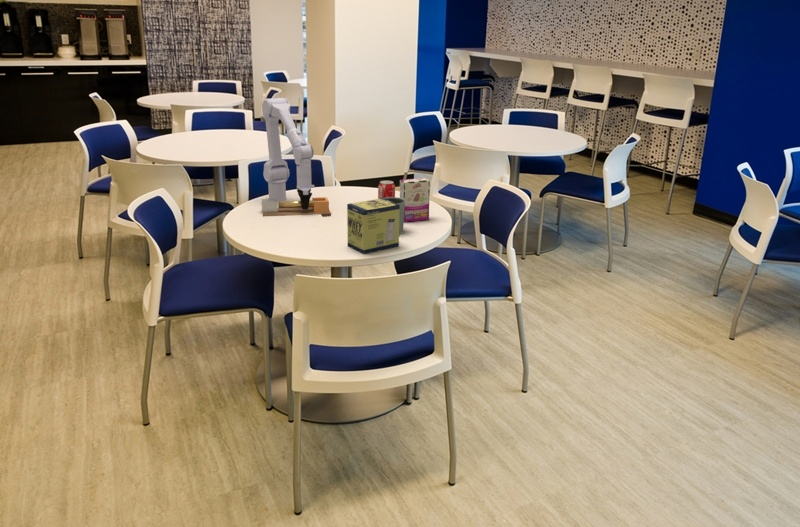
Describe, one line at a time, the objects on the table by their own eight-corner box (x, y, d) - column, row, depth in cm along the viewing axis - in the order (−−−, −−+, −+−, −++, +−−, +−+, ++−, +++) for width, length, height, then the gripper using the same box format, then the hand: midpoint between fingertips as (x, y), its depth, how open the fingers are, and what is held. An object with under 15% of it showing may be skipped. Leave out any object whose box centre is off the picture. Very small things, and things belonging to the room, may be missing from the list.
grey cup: (401, 235, 252) (402, 204, 248) (375, 233, 254) (375, 202, 250) (406, 228, 261) (407, 197, 257) (381, 226, 263) (381, 195, 259)
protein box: (346, 246, 239) (346, 203, 234) (382, 238, 248) (383, 197, 243) (363, 254, 231) (363, 210, 226) (399, 246, 240) (400, 203, 235)
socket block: (312, 208, 281) (312, 197, 280) (327, 207, 282) (326, 197, 281) (314, 212, 275) (313, 201, 274) (328, 212, 276) (328, 201, 275)
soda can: (374, 209, 285) (374, 181, 281) (388, 206, 290) (388, 179, 285) (384, 213, 280) (384, 184, 276) (398, 210, 284) (398, 182, 280)
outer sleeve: (262, 210, 276) (261, 199, 274) (277, 210, 277) (276, 198, 275) (262, 213, 272) (261, 202, 270) (277, 213, 273) (277, 201, 271)
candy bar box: (424, 217, 276) (425, 177, 270) (429, 220, 272) (430, 180, 266) (398, 219, 272) (399, 179, 266) (403, 222, 268) (404, 182, 262)
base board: (261, 210, 280) (261, 208, 279) (327, 208, 285) (327, 206, 285) (262, 218, 269) (262, 216, 268) (331, 216, 274) (330, 213, 274)
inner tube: (278, 208, 276) (278, 199, 275) (317, 206, 280) (317, 198, 279) (278, 210, 273) (278, 201, 272) (318, 209, 277) (318, 200, 275)
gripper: (315, 178, 266) (316, 212, 271) (312, 170, 280) (312, 202, 284) (297, 179, 265) (298, 212, 270) (294, 171, 278) (295, 203, 283)
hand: (304, 207), depth 277 cm, fingers closed on inner tube, 4 cm apart
